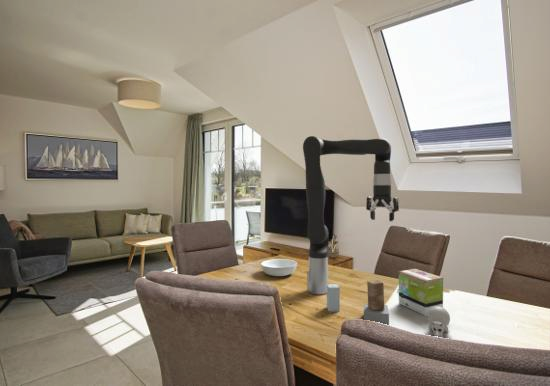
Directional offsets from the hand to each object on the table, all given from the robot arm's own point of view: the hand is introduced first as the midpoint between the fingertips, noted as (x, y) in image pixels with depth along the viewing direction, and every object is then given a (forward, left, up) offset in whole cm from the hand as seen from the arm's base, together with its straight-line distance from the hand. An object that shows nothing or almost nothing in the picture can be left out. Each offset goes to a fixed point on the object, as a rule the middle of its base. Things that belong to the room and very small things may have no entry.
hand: (382, 220), depth 147 cm
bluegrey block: (-10, -24, -36) cm, 44 cm away
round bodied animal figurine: (+29, -17, -36) cm, 50 cm away
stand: (+2, +18, -36) cm, 41 cm away
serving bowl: (-63, -1, -36) cm, 73 cm away
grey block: (+8, -22, -36) cm, 43 cm away
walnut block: (+8, -22, -31) cm, 39 cm away
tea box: (+16, +2, -36) cm, 40 cm away
